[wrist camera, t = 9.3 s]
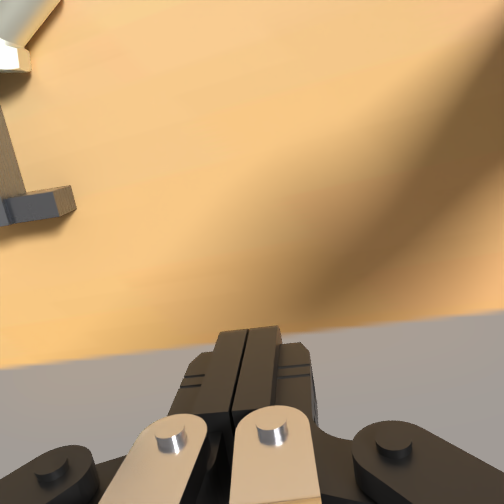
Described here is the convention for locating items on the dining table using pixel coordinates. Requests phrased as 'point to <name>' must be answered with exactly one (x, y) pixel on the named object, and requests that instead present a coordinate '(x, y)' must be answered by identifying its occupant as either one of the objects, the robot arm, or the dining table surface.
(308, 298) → the dining table surface
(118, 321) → the dining table surface
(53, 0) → the pipe fitting
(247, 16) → the dining table surface
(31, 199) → the stop bracket
